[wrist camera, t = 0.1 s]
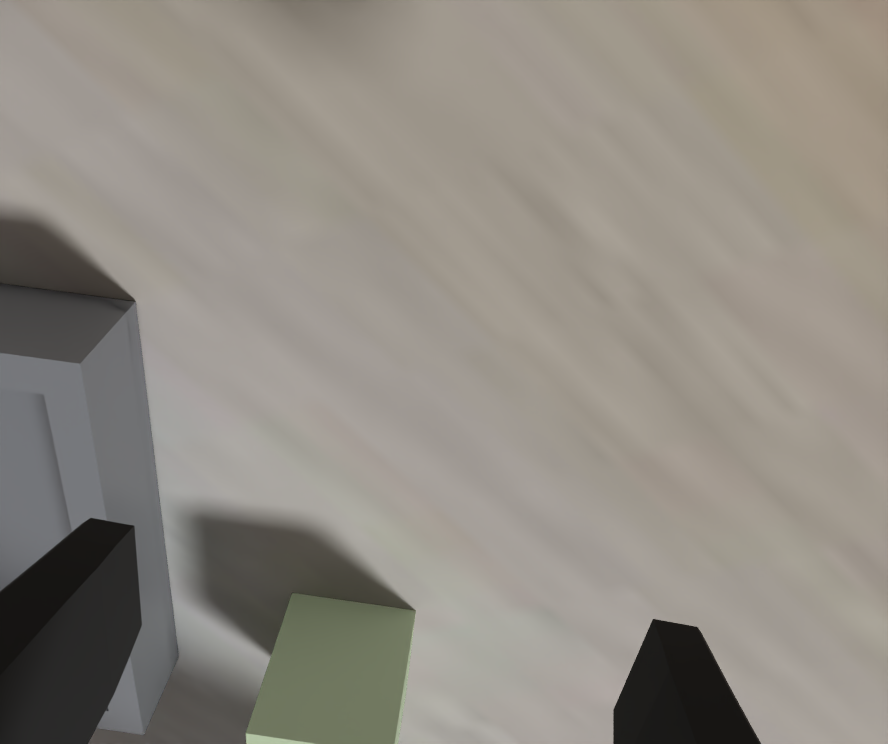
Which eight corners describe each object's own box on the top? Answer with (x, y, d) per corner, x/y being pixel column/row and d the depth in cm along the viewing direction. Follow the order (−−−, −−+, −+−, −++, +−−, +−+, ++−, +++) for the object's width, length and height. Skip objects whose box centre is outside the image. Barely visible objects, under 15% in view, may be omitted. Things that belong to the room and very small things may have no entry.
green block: (406, 687, 28) (383, 834, 24) (292, 671, 28) (249, 813, 24) (415, 609, 26) (392, 755, 22) (292, 591, 26) (245, 733, 22)
